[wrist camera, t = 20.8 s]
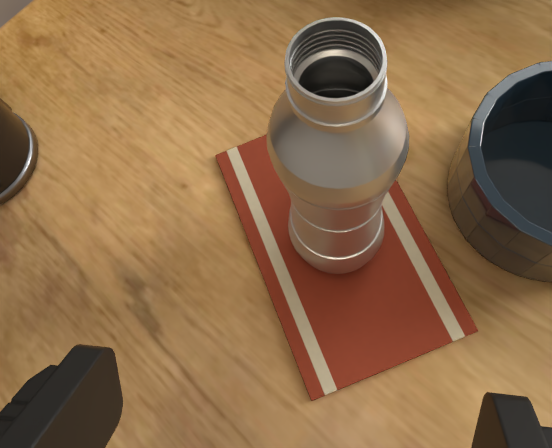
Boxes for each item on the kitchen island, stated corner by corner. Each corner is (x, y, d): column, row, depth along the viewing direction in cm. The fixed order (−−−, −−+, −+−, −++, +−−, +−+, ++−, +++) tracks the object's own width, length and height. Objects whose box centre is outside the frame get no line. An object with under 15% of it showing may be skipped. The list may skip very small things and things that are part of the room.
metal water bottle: (346, 180, 37) (355, -43, 19) (400, 250, 35) (472, 76, 16) (274, 224, 37) (210, 40, 18) (324, 299, 34) (310, 176, 16)
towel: (216, 156, 40) (215, 155, 39) (352, 101, 40) (352, 99, 40) (311, 400, 33) (311, 400, 32) (477, 331, 33) (478, 330, 32)
